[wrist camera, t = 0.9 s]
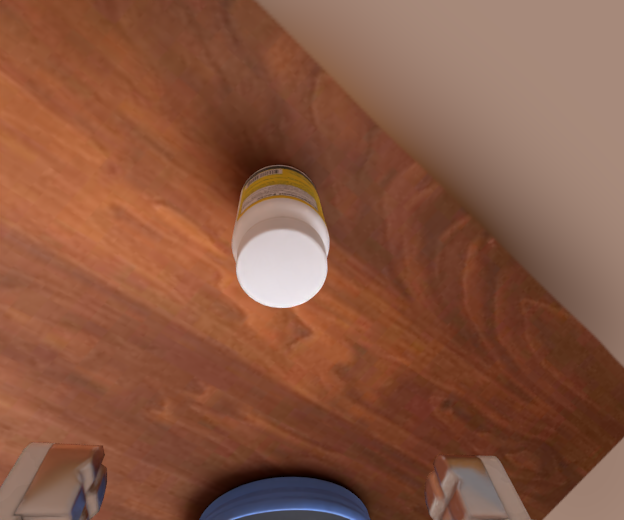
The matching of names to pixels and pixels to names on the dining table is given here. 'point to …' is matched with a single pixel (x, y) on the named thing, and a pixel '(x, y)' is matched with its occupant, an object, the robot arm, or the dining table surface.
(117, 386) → the dining table surface
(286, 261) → the supplement bottle
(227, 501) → the bowl
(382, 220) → the dining table surface
